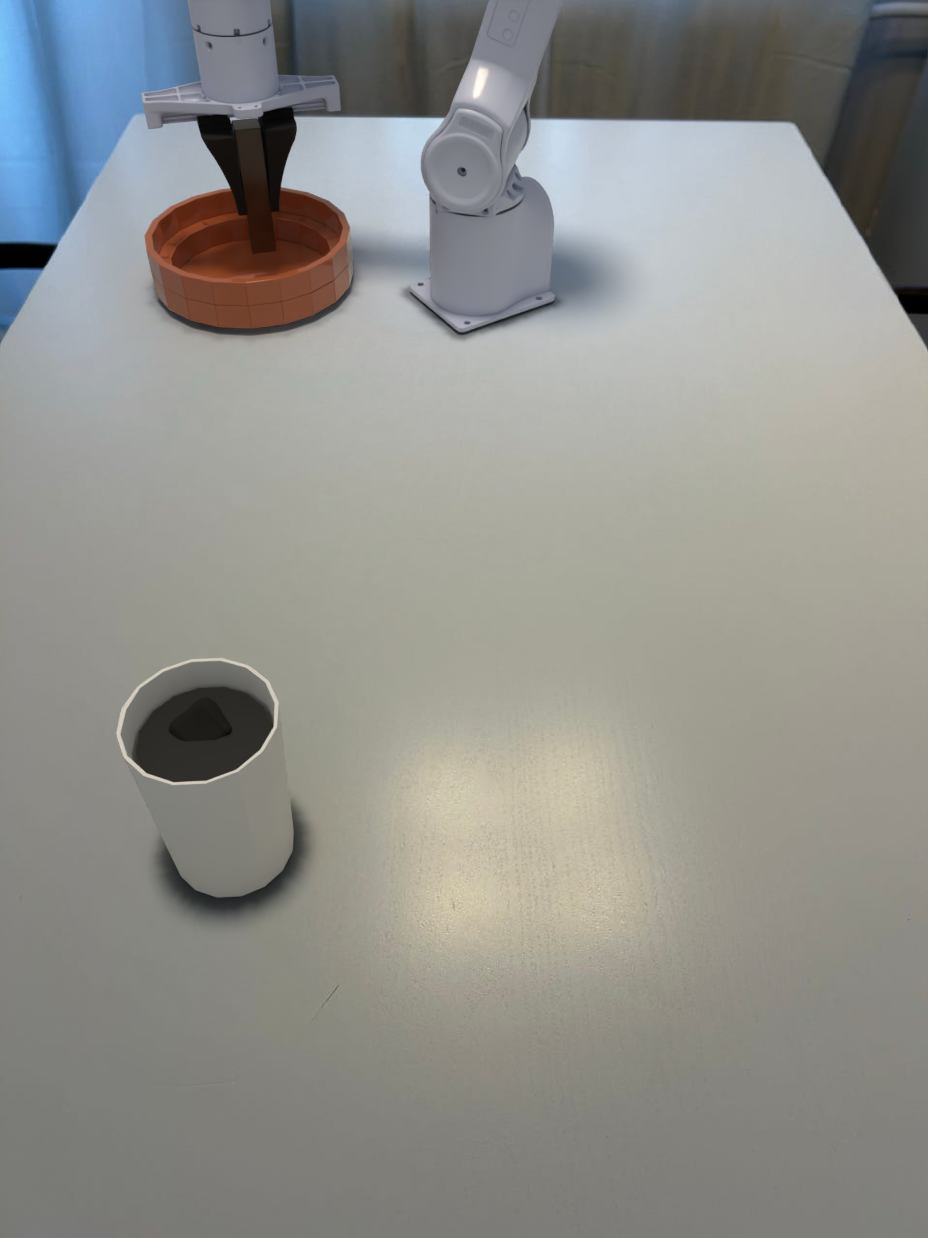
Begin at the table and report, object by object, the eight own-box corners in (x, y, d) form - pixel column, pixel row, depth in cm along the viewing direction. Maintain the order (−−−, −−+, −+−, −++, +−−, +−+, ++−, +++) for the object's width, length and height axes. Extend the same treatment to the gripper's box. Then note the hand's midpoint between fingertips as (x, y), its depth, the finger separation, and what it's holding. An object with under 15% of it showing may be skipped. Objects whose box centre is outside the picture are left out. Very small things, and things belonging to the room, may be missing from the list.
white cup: (140, 831, 50) (89, 705, 43) (260, 764, 53) (231, 634, 46) (205, 933, 47) (161, 815, 40) (329, 855, 50) (309, 731, 42)
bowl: (298, 219, 94) (292, 170, 91) (388, 298, 85) (385, 246, 82) (127, 266, 88) (115, 215, 84) (205, 357, 79) (194, 303, 75)
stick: (272, 239, 87) (257, 117, 80) (276, 251, 86) (260, 127, 78) (249, 242, 87) (231, 119, 79) (252, 254, 85) (234, 130, 78)
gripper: (132, 51, 70) (171, 241, 80) (343, 33, 73) (355, 219, 83) (125, 16, 74) (163, 201, 84) (324, 1, 77) (337, 181, 87)
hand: (257, 207), depth 84 cm, fingers closed on stick, 2 cm apart
